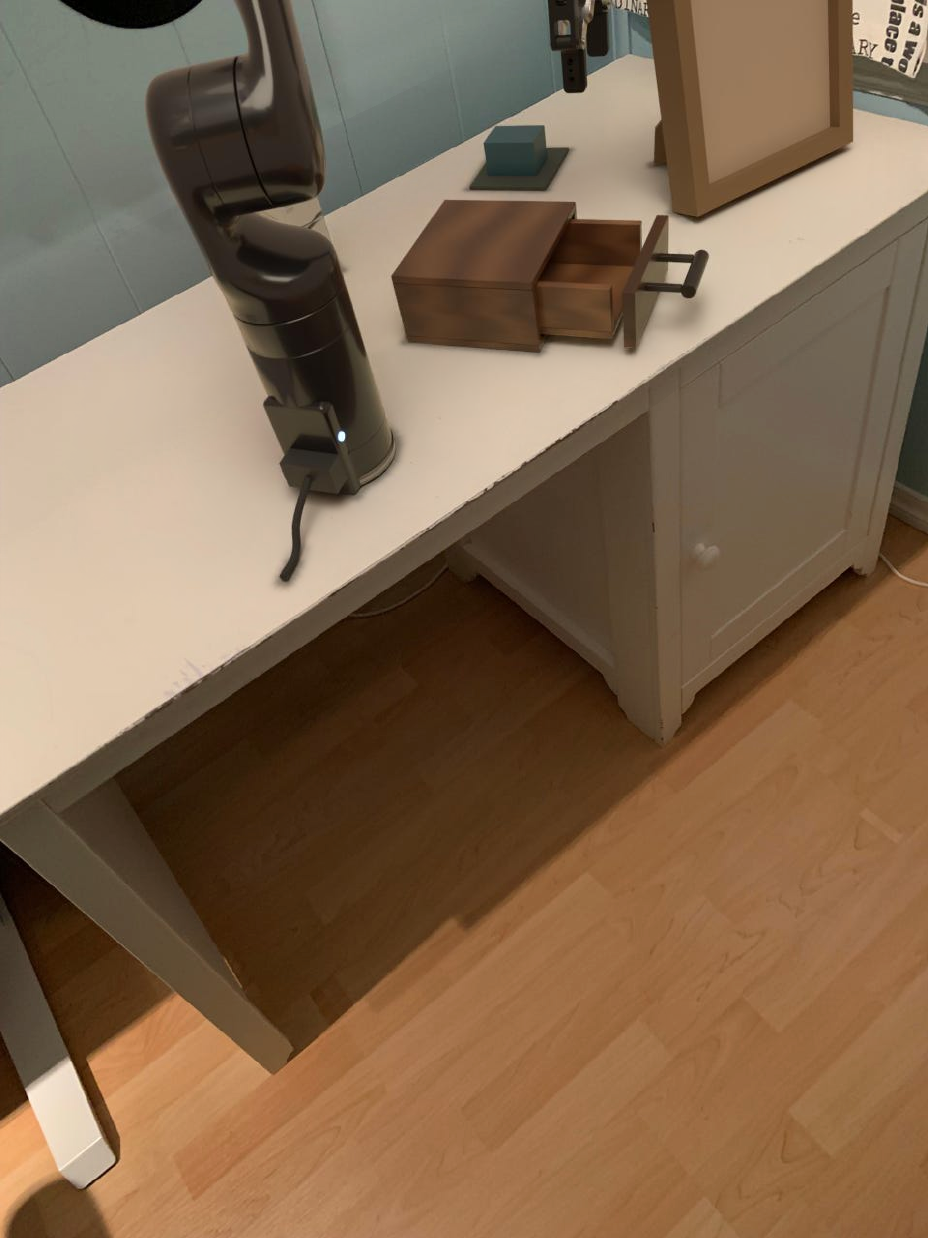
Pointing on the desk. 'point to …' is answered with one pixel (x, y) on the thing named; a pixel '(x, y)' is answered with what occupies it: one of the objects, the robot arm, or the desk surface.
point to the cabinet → (480, 273)
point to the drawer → (609, 278)
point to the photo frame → (748, 92)
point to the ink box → (300, 216)
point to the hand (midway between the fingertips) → (587, 72)
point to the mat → (522, 182)
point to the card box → (516, 150)
